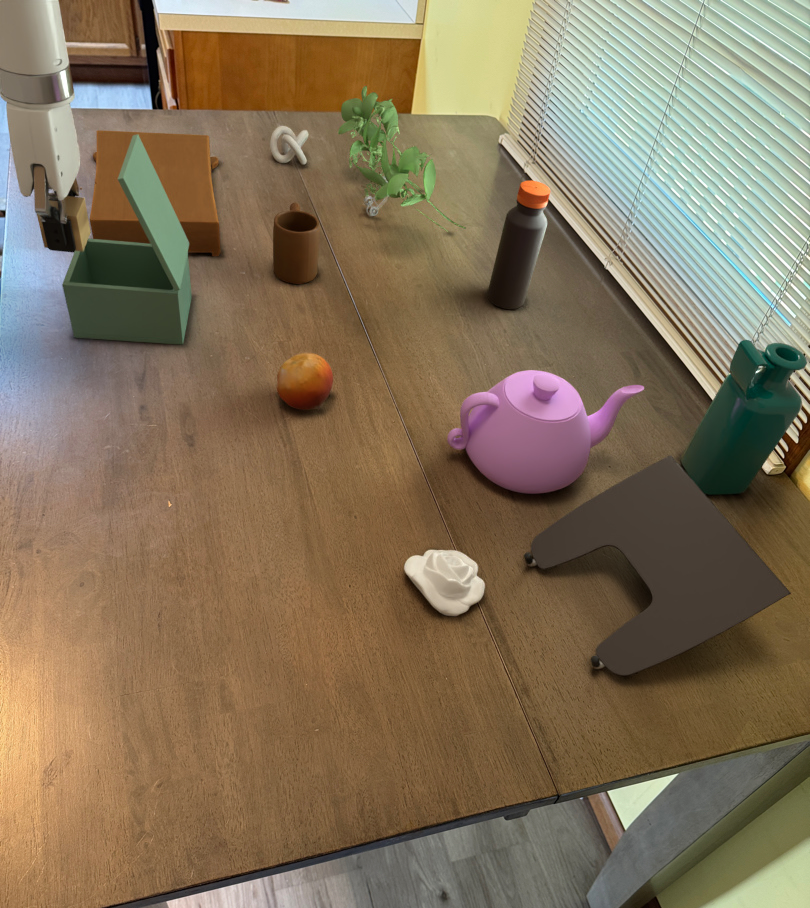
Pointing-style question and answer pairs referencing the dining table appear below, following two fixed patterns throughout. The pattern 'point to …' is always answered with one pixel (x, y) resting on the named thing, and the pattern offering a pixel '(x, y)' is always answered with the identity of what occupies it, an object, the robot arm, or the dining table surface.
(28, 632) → the dining table surface
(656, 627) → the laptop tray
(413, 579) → the rose
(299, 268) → the mug
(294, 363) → the fruit
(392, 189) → the plant cuttings
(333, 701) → the dining table surface
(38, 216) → the block
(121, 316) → the chest
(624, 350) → the dining table surface
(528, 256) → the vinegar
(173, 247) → the lid
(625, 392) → the teapot
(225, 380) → the dining table surface
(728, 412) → the dark green tall bottle
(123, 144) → the wooden box
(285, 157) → the knot
